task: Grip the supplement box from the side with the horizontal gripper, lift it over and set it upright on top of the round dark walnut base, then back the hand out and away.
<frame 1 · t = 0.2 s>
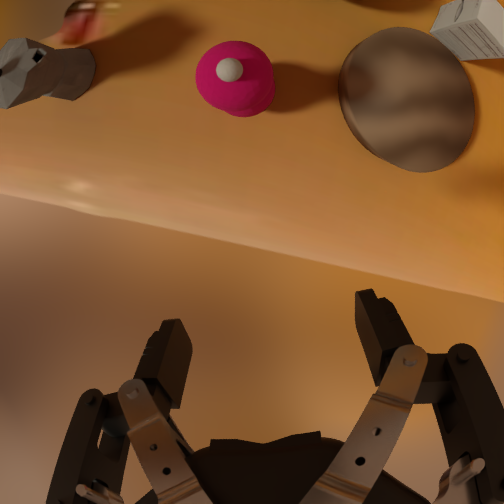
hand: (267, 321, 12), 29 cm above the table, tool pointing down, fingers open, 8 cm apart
supplement box: (450, 33, 25), on the table
pepper mill: (246, 90, 33), on the table
walnut base: (403, 98, 32), on the table
coffeepot: (69, 75, 31), on the table
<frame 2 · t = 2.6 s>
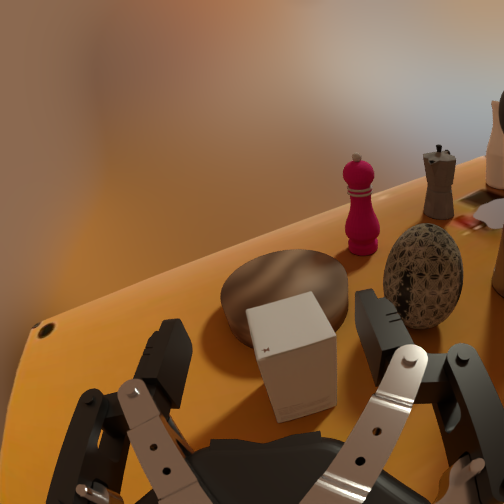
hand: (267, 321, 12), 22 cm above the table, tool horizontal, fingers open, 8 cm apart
decorative egg: (416, 319, 37), on the table
supplement box: (300, 393, 32), on the table
pepper mill: (363, 248, 57), on the table
walnut base: (287, 306, 47), on the table
wine bottle: (496, 186, 69), on the table
coffeepot: (439, 212, 63), on the table
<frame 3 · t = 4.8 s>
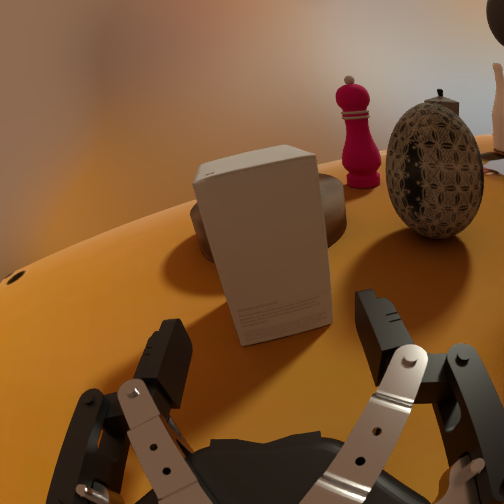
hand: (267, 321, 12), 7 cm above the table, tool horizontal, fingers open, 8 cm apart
decorative egg: (433, 235, 29), on the table
supplement box: (279, 310, 24), on the table
pepper mill: (363, 184, 49), on the table
walnut base: (272, 228, 39), on the table
coffeepot: (447, 162, 54), on the table
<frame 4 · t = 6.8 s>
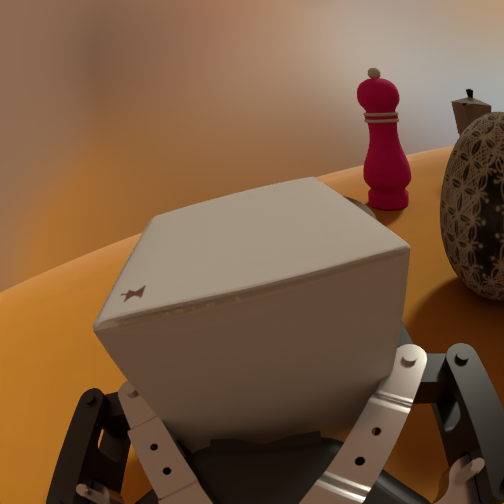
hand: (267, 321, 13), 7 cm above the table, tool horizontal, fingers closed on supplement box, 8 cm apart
decorative egg: (487, 288, 19), on the table
supplement box: (289, 428, 14), on the table, touching gripper
pepper mill: (388, 204, 39), on the table
coffeepot: (475, 174, 44), on the table
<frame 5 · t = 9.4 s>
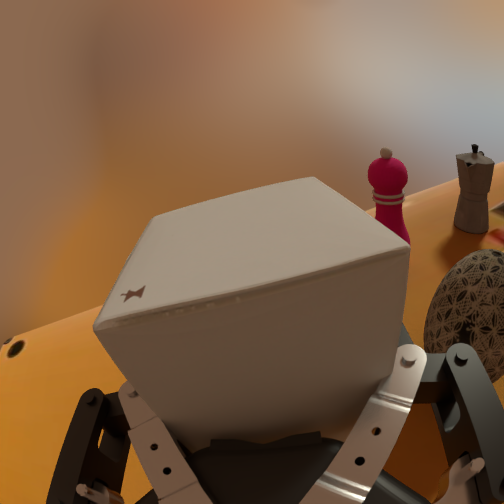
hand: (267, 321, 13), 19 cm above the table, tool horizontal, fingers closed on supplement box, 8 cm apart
decorative egg: (457, 371, 24), on the table
supplement box: (289, 428, 14), point 11 cm above the table, touching gripper
pepper mill: (387, 269, 44), on the table
coffeepot: (472, 224, 49), on the table
when the fingers open (14 cm above the table, at t = 12.1 s): supplement box drops 2 cm, resting on walnut base.
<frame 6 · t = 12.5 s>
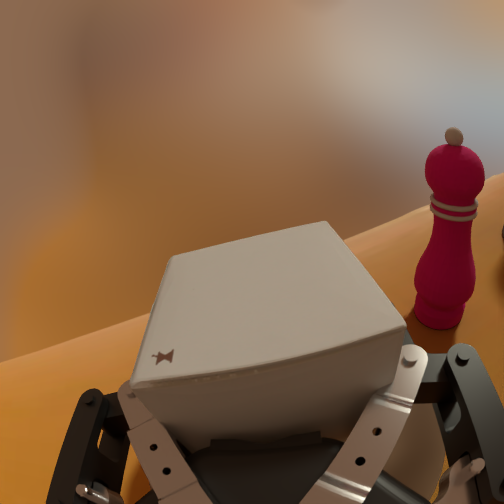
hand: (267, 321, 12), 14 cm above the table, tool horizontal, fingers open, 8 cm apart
supplement box: (294, 442, 15), point 5 cm above the table, touching walnut base
pepper mill: (438, 312, 27), on the table
walnut base: (298, 462, 17), on the table
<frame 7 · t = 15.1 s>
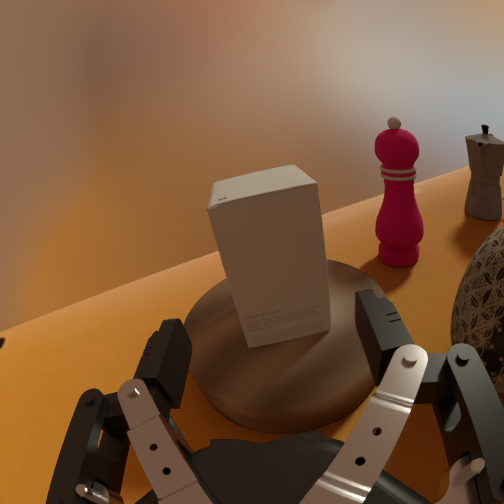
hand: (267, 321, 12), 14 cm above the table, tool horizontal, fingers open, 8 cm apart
decorative egg: (486, 369, 18), on the table
supplement box: (284, 315, 26), point 5 cm above the table, touching walnut base
pepper mill: (398, 257, 38), on the table
walnut base: (289, 348, 29), on the table
coffeepot: (484, 211, 44), on the table
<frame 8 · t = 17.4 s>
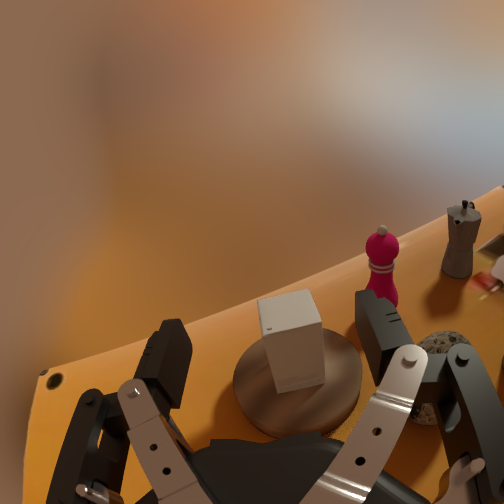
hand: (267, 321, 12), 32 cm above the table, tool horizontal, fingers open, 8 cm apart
decorative egg: (424, 406, 33), on the table
supplement box: (297, 371, 41), point 5 cm above the table, touching walnut base
pepper mill: (378, 317, 53), on the table
walnut base: (299, 388, 43), on the table
coffeepot: (458, 267, 58), on the table
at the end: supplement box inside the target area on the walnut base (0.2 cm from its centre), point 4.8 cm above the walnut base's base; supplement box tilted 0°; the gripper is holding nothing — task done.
